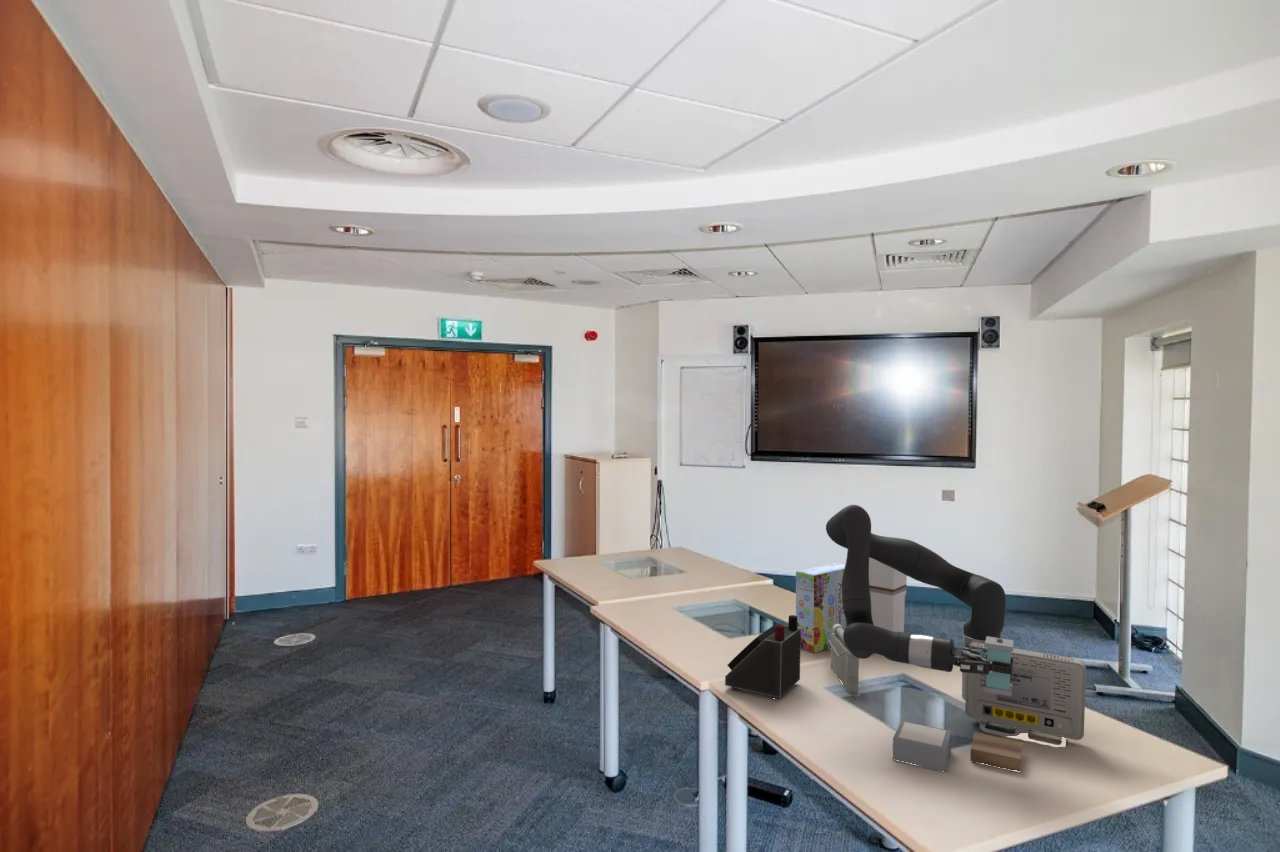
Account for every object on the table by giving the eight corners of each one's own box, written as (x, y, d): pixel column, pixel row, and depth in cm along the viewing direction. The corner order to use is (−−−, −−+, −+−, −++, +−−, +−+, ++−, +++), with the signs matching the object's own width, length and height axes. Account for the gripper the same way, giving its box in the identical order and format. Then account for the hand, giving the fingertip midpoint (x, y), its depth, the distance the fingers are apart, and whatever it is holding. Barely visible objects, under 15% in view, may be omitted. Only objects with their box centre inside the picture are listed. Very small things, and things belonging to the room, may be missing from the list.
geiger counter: (863, 643, 202) (840, 618, 227) (840, 642, 202) (820, 617, 227) (862, 693, 202) (839, 662, 227) (839, 692, 203) (819, 661, 228)
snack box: (833, 635, 255) (835, 562, 255) (854, 641, 248) (856, 566, 248) (793, 646, 242) (794, 569, 241) (814, 653, 235) (816, 574, 234)
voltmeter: (746, 672, 217) (747, 606, 216) (799, 684, 208) (801, 614, 208) (724, 690, 203) (725, 618, 203) (780, 703, 195) (781, 628, 194)
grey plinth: (900, 741, 173) (901, 719, 173) (950, 752, 168) (951, 729, 167) (892, 760, 163) (893, 737, 163) (945, 772, 158) (946, 749, 158)
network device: (1083, 739, 176) (1085, 657, 175) (1083, 754, 168) (1086, 668, 168) (967, 715, 189) (969, 638, 188) (963, 727, 181) (965, 648, 181)
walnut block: (973, 744, 172) (974, 731, 172) (1021, 754, 167) (1021, 741, 167) (970, 761, 163) (970, 748, 163) (1020, 773, 158) (1021, 759, 158)
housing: (985, 683, 169) (986, 633, 168) (1012, 688, 166) (1013, 637, 166) (983, 691, 164) (985, 640, 163) (1011, 696, 161) (1013, 644, 161)
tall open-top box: (904, 647, 243) (907, 542, 243) (891, 654, 236) (894, 546, 235) (872, 639, 251) (874, 538, 250) (858, 646, 243) (861, 542, 242)
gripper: (927, 644, 165) (1012, 658, 157) (935, 628, 178) (1013, 640, 170) (926, 677, 165) (1010, 692, 157) (934, 659, 178) (1012, 672, 170)
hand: (1011, 665), depth 163 cm, fingers closed on housing, 4 cm apart
